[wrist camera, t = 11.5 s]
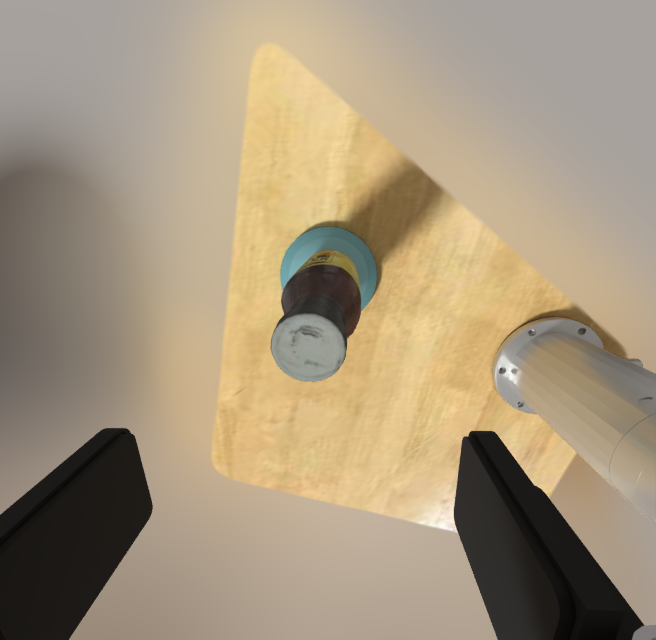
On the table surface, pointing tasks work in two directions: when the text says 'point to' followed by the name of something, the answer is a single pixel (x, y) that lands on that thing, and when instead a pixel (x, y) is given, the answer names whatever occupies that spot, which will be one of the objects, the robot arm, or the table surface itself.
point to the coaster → (339, 242)
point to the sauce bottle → (317, 317)
